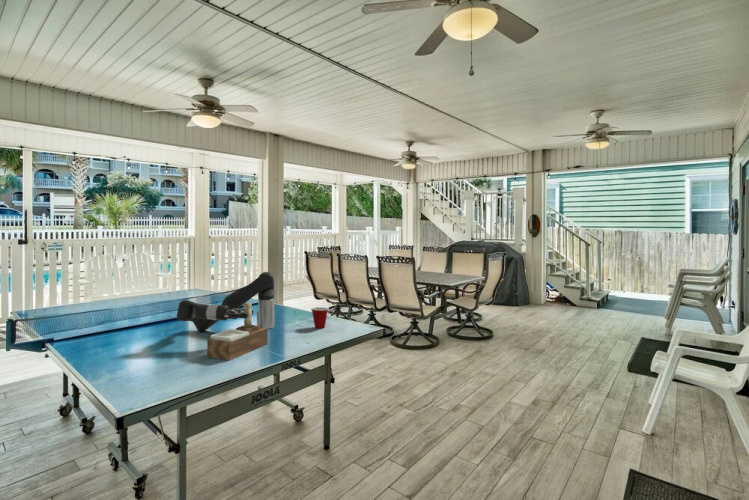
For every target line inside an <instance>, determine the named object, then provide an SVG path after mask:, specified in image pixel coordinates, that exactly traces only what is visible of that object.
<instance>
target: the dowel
mask: <svg viewBox="0 0 749 500" xmlns="http://www.w3.org/2000/svg"><path fill="white" fill-rule="evenodd" d="M243 309H244V311H243V312H244V314H248V318H243V320H244V321H243V326H244V328H248V329H249V328H252V325H253V323H252V321H253V317H252V316H253V315H252V302H246V303H244V304H243Z"/></svg>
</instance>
